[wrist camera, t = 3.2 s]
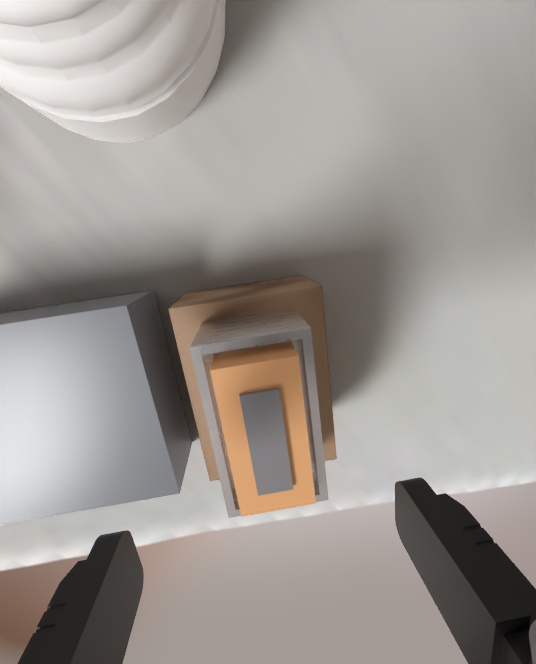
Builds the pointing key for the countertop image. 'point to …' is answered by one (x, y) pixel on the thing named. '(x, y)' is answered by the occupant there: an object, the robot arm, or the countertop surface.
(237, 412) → the cover
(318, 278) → the countertop surface
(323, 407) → the walnut stand
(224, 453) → the housing base
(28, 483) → the charcoal stand
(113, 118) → the honey pot
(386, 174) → the countertop surface
